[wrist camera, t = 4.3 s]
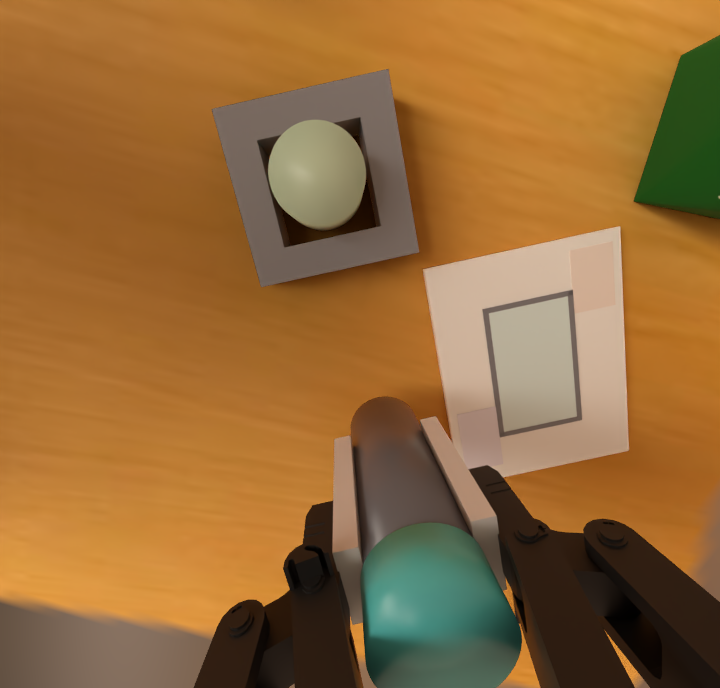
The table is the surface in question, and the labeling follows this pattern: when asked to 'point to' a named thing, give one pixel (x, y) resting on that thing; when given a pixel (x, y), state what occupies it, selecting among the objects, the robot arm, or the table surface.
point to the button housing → (382, 161)
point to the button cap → (317, 174)
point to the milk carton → (688, 139)
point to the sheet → (533, 353)
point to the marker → (422, 566)
